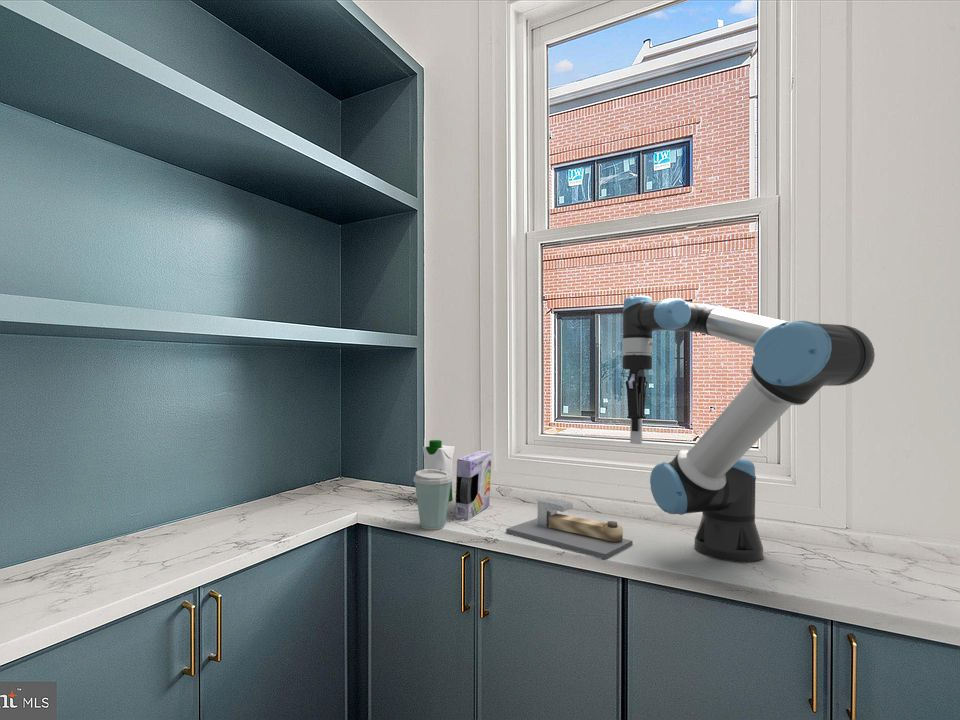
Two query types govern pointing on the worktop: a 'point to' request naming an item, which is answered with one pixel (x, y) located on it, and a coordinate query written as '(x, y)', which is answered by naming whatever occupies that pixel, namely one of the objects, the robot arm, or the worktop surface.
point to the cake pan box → (472, 484)
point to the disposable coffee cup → (432, 497)
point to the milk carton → (439, 458)
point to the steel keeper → (550, 509)
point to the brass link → (587, 527)
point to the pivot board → (569, 540)
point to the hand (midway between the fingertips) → (636, 443)
